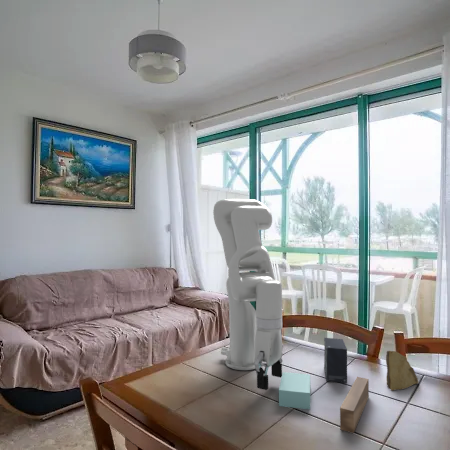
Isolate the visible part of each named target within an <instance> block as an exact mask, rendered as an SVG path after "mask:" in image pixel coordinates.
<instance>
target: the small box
mask: <svg viewBox="0 0 450 450" xmlns="http://www.w3.org/2000/svg"><path fill="white" fill-rule="evenodd" d="M323 343H324V344H323V346H324V350H323V351H324V354H323V357H324V359H323V363H324V364H323V366H324V367H323V369H324V370H323V371H324V375H325V381H326V382H333V383H343V384H344V383H346V384H347V383H348V348H347V346H346V344H345V341H344V339H343V338H333V337H324V338H323Z"/></svg>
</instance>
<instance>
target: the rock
mask: <svg viewBox="0 0 450 450" xmlns="http://www.w3.org/2000/svg"><path fill="white" fill-rule="evenodd" d="M385 362H386V369H387V371H386V385H387V388H388V389H389V390H390V391H392V392H393V391H398V390H400V391H401V390H404V389H408V388H409V387H412V386H413V385H417V384H419V383H420V382H419V380H418V379H419V378H418V377H417V375H416V372H415V369H414V368H413V366H411V364H410V362H409V361H408V358H407V357H406V356H405V355H403V354H401V353H399V352H397V351H394V350H387V351H386V356H385Z"/></svg>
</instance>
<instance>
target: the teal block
mask: <svg viewBox="0 0 450 450" xmlns="http://www.w3.org/2000/svg"><path fill="white" fill-rule="evenodd" d="M311 391H312V389H311V374H309V373H300V372H299V373H296V372H286V371H285V372H284V371H282V377H281V379H280V382H279V387H278V406H279V407H287V408H293V409H294V408H296V409H303V410H311Z"/></svg>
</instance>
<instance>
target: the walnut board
mask: <svg viewBox="0 0 450 450" xmlns="http://www.w3.org/2000/svg"><path fill="white" fill-rule="evenodd" d="M369 382H370V381H369V378H365V377H360V376H356V378H355V380H354V381H353V384H352V385H351V386H350V389H349V391H348V392H347V395H346V396H345V398H344V400H343V402H342V403H341V406H340V407H339V417H340V419H339V421H340V423H339V425H340V426H339V428H340V430H341V431H345V432H347V433H351V434H355V432H356V429H357V426H358V424H359V422H360V419H361V417H362V414H363V413H364V410H365V407H366V405H367V402H368V400H369V396H370V395H369V393H370V390H369V388H370V387H369V386H370V385H369Z"/></svg>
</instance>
